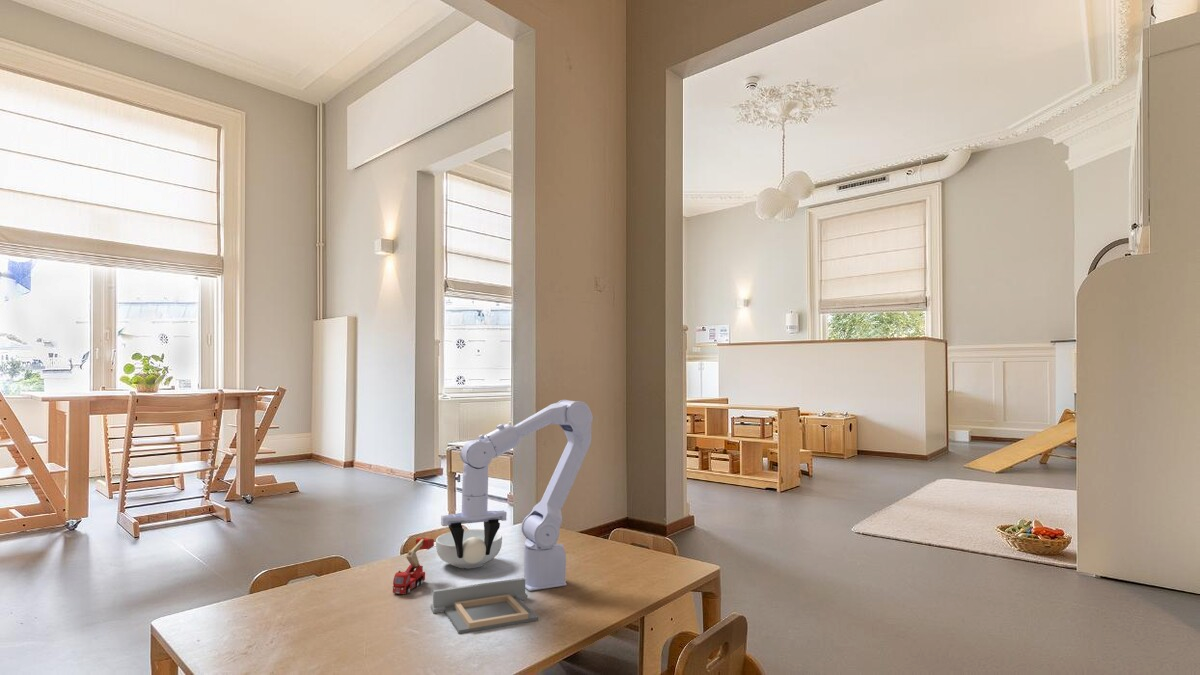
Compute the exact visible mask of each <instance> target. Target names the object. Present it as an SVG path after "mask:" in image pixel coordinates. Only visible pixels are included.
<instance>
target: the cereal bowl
mask: <svg viewBox="0 0 1200 675" xmlns="http://www.w3.org/2000/svg"><path fill="white" fill-rule="evenodd" d="M471 537H477V538H480V539H481V540H483V542H484V538H485V536H484V529H480V528H479V529H477V528H473V529H464V534H463V543H464V542H465V541H466V540H467V539H468V538H471ZM502 545H503V536H502V533H500V532H498V531H497V533H496V535H495V537H494V540H493V542H492V546H491V549H490V554H489V555H486V554H485V556H484V557H483V559H482V560H481V561H479V562H477V563H468V562H466V561H465V560H464V559H463V558H458V557H457V551H456V546H455V542H454V539H453V536H452V533H451V531H449V532H446V533H442V534H440V535H439V536H437V537H436V539H435V547H436V553H437V555H438V557H439V558H440V560H442V561H443V562H444V563H446V564H449V565H452V566H454V567H455V568H457V567H458V569H464V568H466V569H476V568H481V567H482V566H484V565H485V564H486V563H487V562H489V561H491V560H493V559H494V558H496V557H497V555H498V554H499V553H500V551H501V549H502Z"/></svg>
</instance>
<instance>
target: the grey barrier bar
mask: <svg viewBox="0 0 1200 675" xmlns="http://www.w3.org/2000/svg"><path fill="white" fill-rule="evenodd" d="M525 580H526V579H525V578H524V577H520V578H512V579H511V578H510V579H505V580H499V581H490V582H482V583H475V584H468V585H462V586H456V587H455V586H454V587H448V588H440V589H433V590H432V603H431V604H430V610H431V611H432V613H433V614H438V613H445V612H444V609H446V608H453V607H454V602H460V601H467V600H474V599H480V598H487V597H494V596H500V595H507V594H510V595H511V596H512V597H513V598H519V599H520V600H521V601H522V600H528V598H529V597H528V594H527V593H526V588H525Z"/></svg>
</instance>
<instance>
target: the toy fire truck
mask: <svg viewBox="0 0 1200 675" xmlns="http://www.w3.org/2000/svg"><path fill="white" fill-rule="evenodd" d="M433 547H435V539H434V538H426V537H425V538H424V537H422V538H421V537H420V538H416V539H415V545H414V546H413V548H412V549H409V550H408V551H407V555H406V559H407V561H408V563H409V565H408V567H407V568H406V569H405V571H401V570H398V571H397V572H396V573H395V574H394V576H393V581H392V582H393V583H392V584H393V585H392V593H393V594H397V595H405V594H410V592H411V590H412V589H414V588H415V587H416V588H419V586H420V585H423V583H424V582H425V580H426V571H424V567H423V566H424V565H420V562H419V558H418V555H417V552H418V551H419V550H430V549H432V548H433Z"/></svg>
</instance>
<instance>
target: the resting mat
mask: <svg viewBox="0 0 1200 675" xmlns="http://www.w3.org/2000/svg"><path fill="white" fill-rule="evenodd" d="M443 613H445V616H448V617H447V618H448V619H450V620H449V621H450V622H452V623H451V624H452V626H453V627H454V629H455V630H456V633H457V634H458V635H460V634H465V633H470V632H476V631H477V632H478V631H482V630H488V629H494V628H499V627H505V626H511V625H516V624H517V625H518V624H524V623H528V622H529V623H530V622H534V621H538V618H539V617H538V616H537V614H535V613H534V611H532V610H531V609H530V608H529V606H527V605H526V603H525V602H523V601H522V600H520V599H519V598H513V597H512V596H511V595H510V594H507V595H500V596H494V597H487V598H480V599H474V600H467V601H460V602H454V607H453V608H446V609H444V612H443Z"/></svg>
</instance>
